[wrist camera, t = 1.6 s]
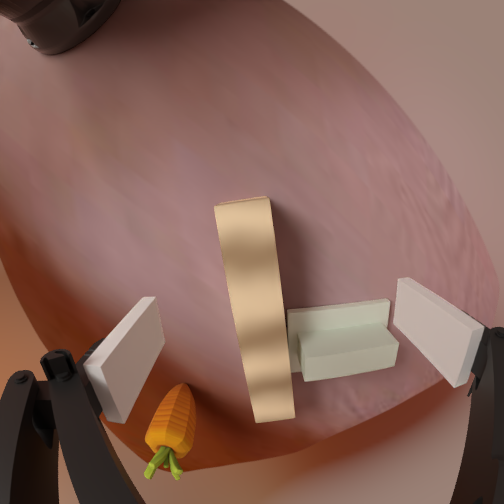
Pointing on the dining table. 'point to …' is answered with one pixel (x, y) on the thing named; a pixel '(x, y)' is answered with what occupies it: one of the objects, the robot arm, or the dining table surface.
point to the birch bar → (257, 304)
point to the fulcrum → (340, 339)
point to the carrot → (172, 430)
